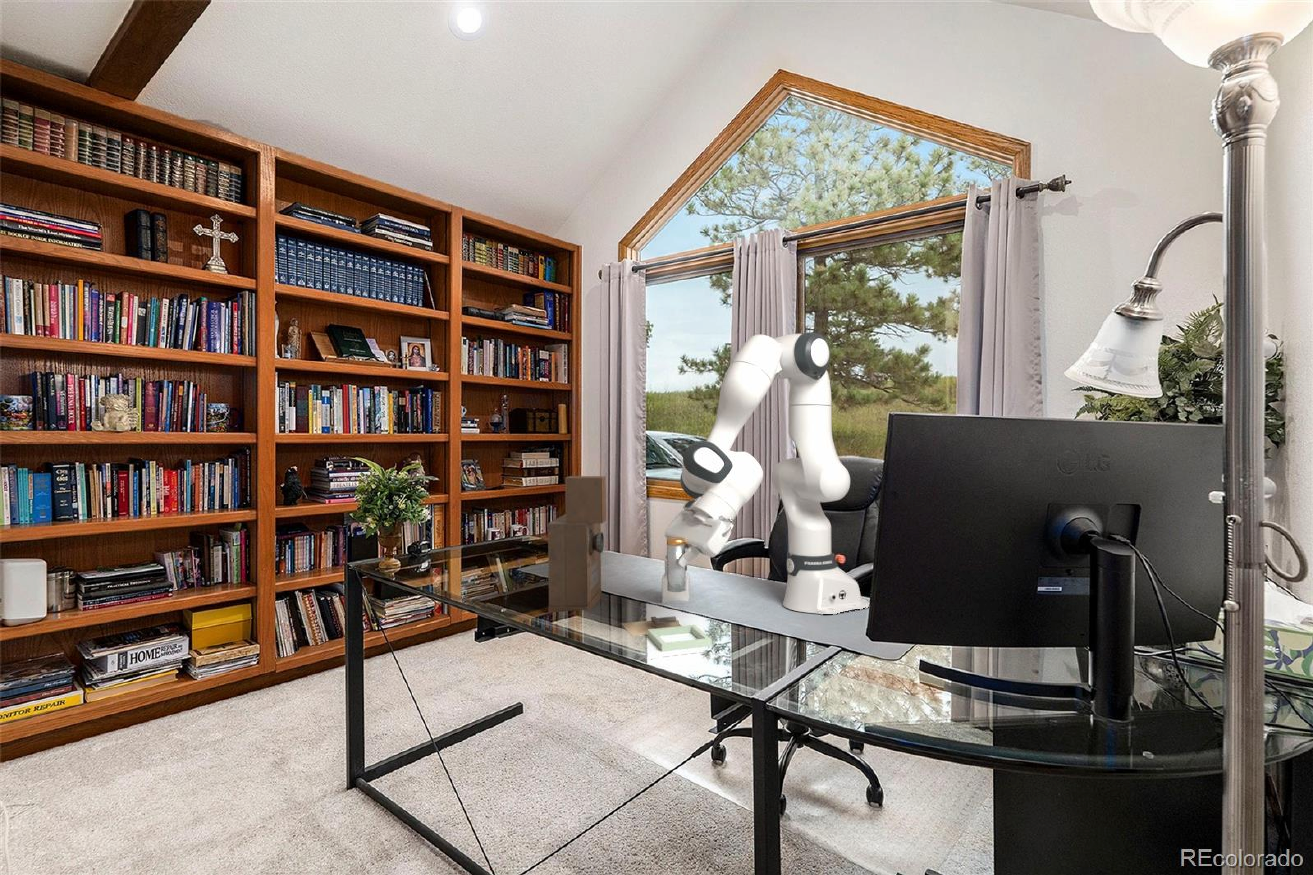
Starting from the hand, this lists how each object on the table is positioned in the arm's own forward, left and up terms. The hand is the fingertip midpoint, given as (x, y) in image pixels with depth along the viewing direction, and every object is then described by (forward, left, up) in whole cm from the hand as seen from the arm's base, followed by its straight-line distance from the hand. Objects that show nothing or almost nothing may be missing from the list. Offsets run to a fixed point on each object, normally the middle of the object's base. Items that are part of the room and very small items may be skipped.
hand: (673, 562), depth 143 cm
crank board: (+2, -11, -18) cm, 21 cm away
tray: (-1, +1, -18) cm, 18 cm away
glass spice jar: (-1, 0, -6) cm, 6 cm away
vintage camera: (+14, -40, -18) cm, 46 cm away
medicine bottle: (-12, -35, -18) cm, 41 cm away
